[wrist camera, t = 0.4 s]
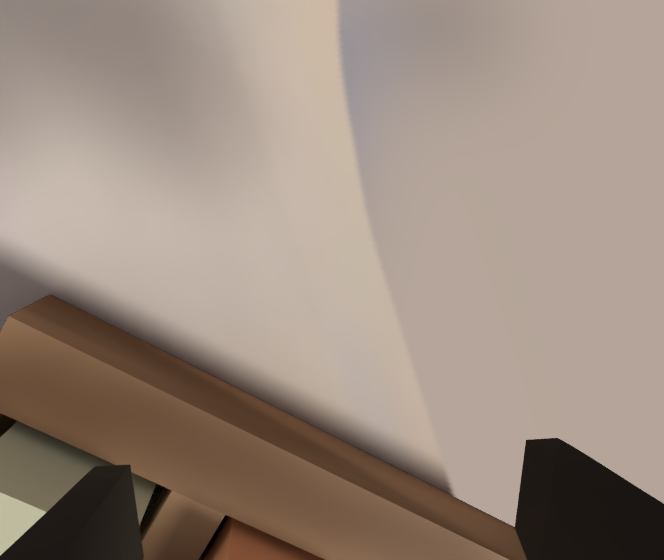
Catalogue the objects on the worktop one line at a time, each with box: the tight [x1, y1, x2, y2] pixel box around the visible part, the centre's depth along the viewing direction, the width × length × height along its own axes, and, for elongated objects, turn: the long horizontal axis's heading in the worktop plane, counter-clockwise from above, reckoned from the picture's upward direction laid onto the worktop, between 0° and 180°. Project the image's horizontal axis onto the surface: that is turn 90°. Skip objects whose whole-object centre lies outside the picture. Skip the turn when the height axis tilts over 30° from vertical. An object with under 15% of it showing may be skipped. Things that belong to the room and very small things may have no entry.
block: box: [0, 421, 156, 555], centre depth 17 cm, size 5×5×4 cm
